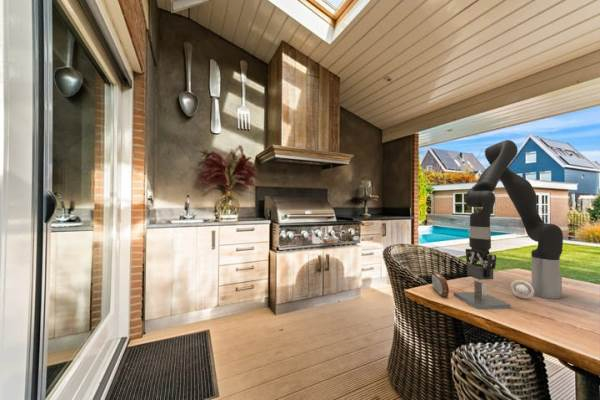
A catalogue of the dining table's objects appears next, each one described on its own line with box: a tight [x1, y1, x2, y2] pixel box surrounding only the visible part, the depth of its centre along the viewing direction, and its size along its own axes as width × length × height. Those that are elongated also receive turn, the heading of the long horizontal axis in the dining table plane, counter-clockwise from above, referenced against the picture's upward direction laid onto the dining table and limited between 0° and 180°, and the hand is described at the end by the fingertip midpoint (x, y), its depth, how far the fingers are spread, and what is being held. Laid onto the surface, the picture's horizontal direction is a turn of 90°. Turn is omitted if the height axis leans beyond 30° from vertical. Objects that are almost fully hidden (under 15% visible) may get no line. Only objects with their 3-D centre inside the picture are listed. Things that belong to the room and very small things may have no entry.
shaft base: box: [453, 279, 512, 310], centre depth 105 cm, size 14×14×9 cm
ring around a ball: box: [510, 279, 535, 300], centre depth 108 cm, size 8×6×8 cm
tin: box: [431, 272, 450, 297], centre depth 115 cm, size 15×3×8 cm, turn 168°
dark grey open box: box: [466, 263, 494, 281], centre depth 105 cm, size 6×6×5 cm
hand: (480, 275), depth 105 cm, fingers closed on dark grey open box, 6 cm apart
